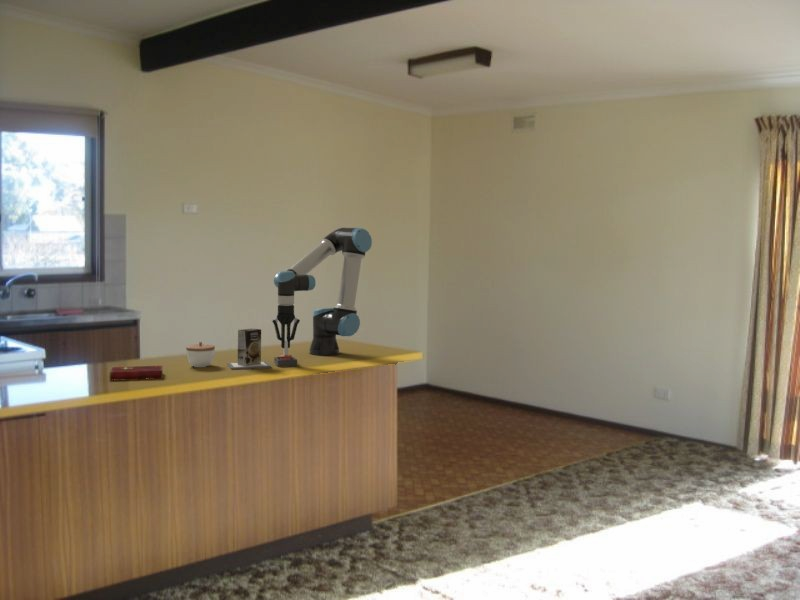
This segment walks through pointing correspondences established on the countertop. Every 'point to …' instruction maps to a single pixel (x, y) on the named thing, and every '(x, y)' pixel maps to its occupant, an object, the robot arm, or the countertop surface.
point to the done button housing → (285, 362)
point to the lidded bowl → (200, 354)
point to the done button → (285, 357)
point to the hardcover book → (136, 372)
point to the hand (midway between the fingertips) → (285, 354)
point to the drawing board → (236, 366)
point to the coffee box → (249, 347)
